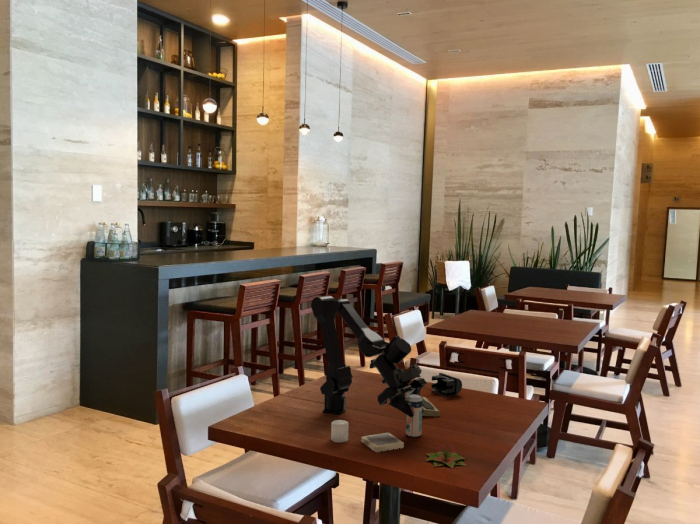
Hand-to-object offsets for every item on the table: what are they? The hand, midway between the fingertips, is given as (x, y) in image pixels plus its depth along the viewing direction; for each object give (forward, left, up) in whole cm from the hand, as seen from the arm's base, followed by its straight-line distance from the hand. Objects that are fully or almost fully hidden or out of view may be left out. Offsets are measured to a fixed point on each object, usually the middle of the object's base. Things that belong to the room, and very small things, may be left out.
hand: (417, 414), depth 183 cm
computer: (-3, +26, -7) cm, 28 cm away
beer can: (-1, +1, -7) cm, 7 cm away
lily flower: (+11, -16, -7) cm, 20 cm away
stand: (-8, -10, -7) cm, 15 cm away
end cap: (+2, +50, -7) cm, 50 cm away
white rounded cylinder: (-21, -10, -7) cm, 25 cm away
